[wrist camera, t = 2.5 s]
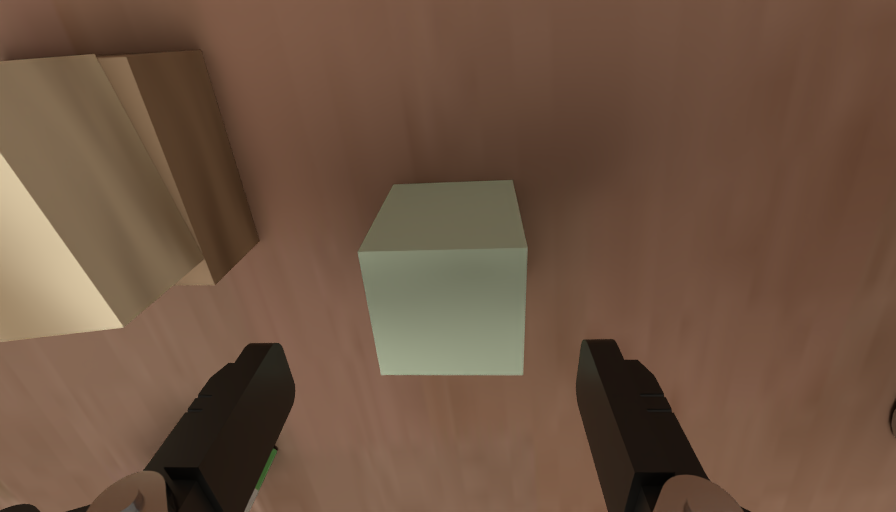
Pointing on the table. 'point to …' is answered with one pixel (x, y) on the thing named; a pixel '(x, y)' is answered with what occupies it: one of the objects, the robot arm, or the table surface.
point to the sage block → (447, 279)
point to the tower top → (79, 205)
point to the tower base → (187, 152)
